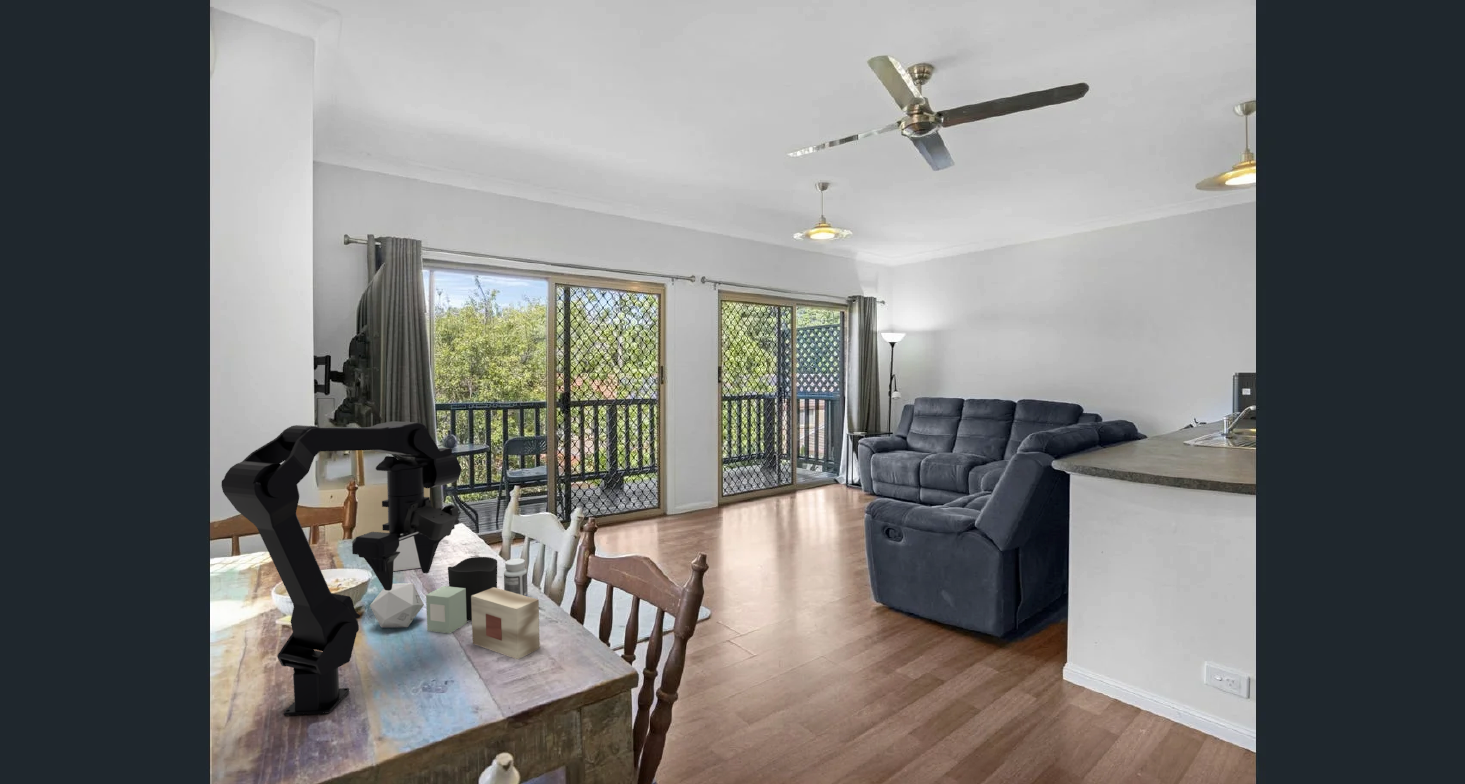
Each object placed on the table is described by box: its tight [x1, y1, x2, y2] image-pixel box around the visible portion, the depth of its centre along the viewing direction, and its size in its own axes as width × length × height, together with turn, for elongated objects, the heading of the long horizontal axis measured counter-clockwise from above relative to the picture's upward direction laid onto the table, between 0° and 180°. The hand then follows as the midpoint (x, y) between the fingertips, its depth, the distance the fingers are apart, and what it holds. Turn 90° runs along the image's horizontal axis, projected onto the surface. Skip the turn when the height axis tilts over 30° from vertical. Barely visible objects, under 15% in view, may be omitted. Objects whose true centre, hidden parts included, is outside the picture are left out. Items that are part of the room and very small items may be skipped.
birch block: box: [471, 587, 541, 660], centre depth 119 cm, size 5×12×9 cm, turn 59°
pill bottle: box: [503, 557, 529, 597], centre depth 141 cm, size 5×5×8 cm
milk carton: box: [393, 534, 421, 572], centre depth 163 cm, size 7×7×19 cm
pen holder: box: [447, 556, 498, 621], centre depth 134 cm, size 9×9×10 cm
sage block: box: [425, 585, 468, 634], centre depth 127 cm, size 5×5×7 cm
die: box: [369, 582, 425, 629], centre depth 128 cm, size 8×9×10 cm
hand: (407, 581), depth 115 cm, fingers open, 9 cm apart
